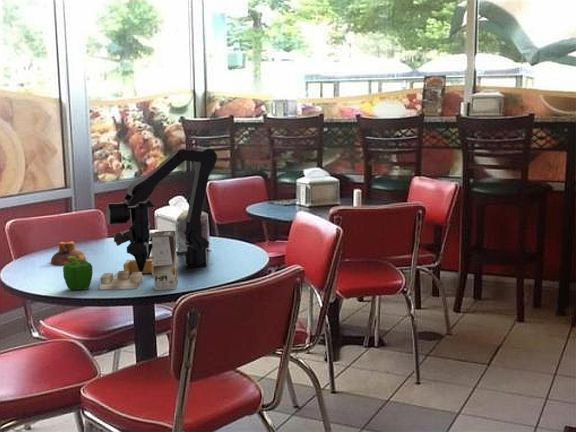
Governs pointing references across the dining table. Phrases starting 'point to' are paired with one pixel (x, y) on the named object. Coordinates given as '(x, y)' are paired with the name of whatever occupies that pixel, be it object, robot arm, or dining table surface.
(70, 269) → the bell pepper
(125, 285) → the cream flat studded block
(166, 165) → the robot arm
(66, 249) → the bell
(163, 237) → the coffee box
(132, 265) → the orange bridge block
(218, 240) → the dining table surface
